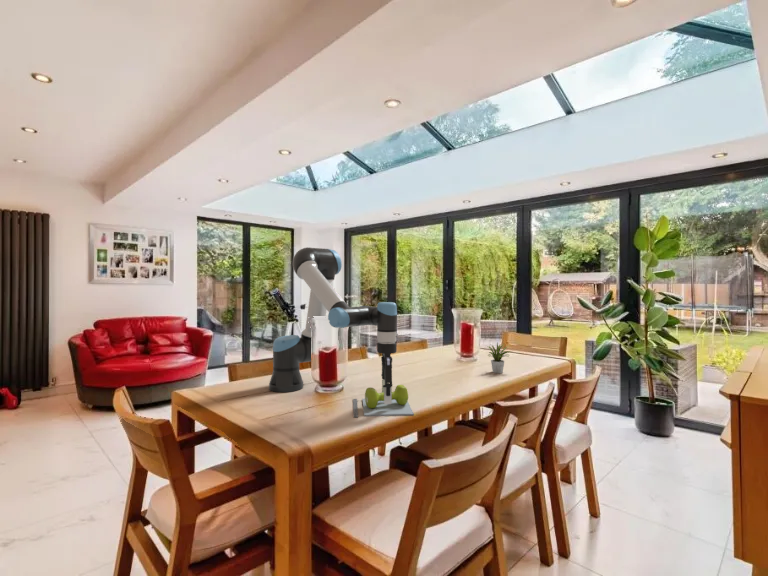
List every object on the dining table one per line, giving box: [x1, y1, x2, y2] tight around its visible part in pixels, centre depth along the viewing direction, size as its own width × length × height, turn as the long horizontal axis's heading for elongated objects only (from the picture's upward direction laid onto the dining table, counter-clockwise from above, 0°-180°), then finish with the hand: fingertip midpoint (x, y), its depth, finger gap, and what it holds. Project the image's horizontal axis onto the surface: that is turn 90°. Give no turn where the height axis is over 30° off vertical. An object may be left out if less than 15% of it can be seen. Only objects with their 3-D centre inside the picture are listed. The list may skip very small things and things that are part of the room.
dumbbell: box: [364, 384, 409, 408], centre depth 153 cm, size 16×8×7 cm, turn 110°
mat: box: [361, 398, 415, 417], centre depth 153 cm, size 18×20×1 cm
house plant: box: [486, 342, 512, 374], centre depth 214 cm, size 14×14×16 cm
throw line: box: [352, 398, 359, 419], centre depth 152 cm, size 2×22×1 cm, turn 5°
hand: (386, 399), depth 153 cm, fingers open, 10 cm apart
